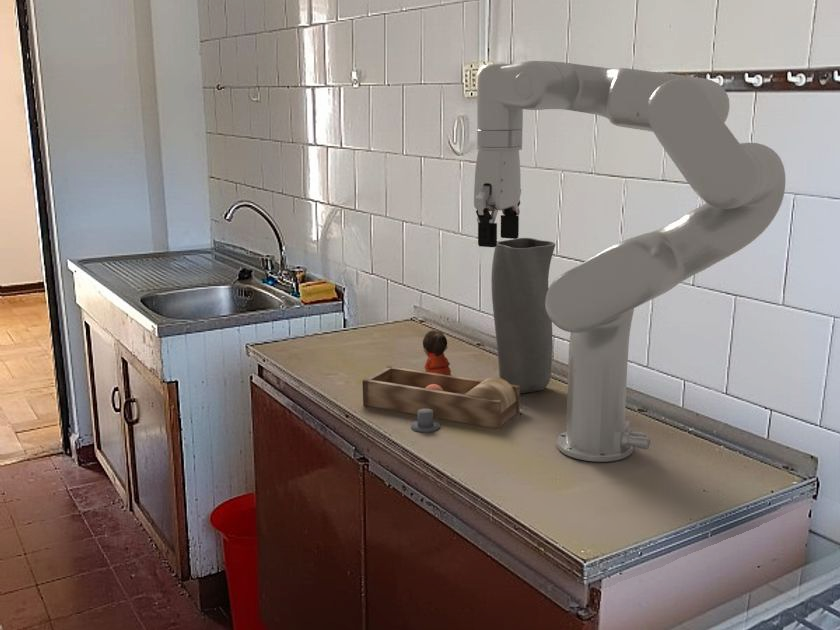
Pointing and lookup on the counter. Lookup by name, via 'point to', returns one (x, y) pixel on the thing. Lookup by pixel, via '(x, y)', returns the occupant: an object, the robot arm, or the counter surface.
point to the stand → (425, 421)
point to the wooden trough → (443, 396)
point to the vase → (522, 312)
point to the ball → (434, 387)
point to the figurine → (436, 353)
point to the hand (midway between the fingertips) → (498, 242)
